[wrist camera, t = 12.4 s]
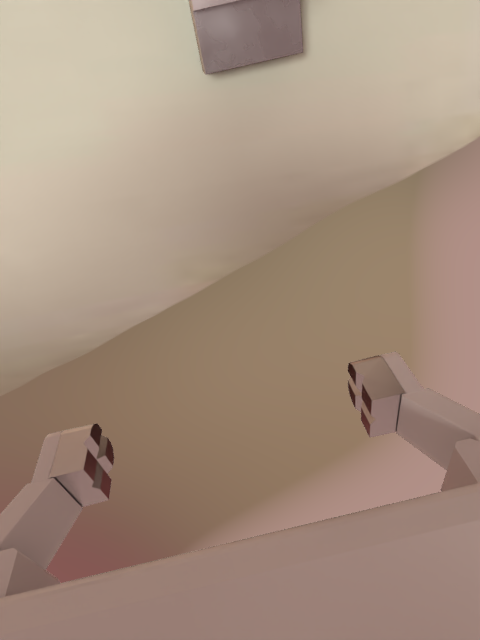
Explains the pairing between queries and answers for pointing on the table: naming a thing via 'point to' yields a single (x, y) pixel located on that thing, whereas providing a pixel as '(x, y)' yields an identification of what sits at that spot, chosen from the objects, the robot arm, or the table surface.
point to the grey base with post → (245, 31)
